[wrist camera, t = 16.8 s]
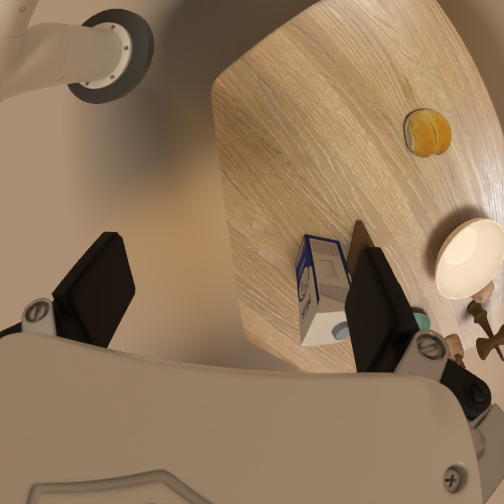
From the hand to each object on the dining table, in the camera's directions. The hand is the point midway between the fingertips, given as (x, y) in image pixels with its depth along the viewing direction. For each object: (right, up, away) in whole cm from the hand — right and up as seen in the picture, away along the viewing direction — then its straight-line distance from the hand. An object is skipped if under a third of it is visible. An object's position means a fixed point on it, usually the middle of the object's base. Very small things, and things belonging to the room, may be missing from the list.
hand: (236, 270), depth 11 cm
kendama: (+61, -14, +47) cm, 78 cm away
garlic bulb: (+57, -7, +43) cm, 72 cm away
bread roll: (+30, +21, +27) cm, 46 cm away
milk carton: (+13, +1, +42) cm, 44 cm away
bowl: (+45, +2, +38) cm, 59 cm away
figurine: (+59, -26, +56) cm, 85 cm away
